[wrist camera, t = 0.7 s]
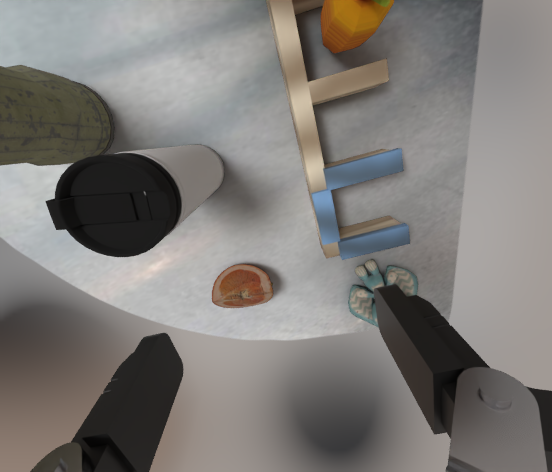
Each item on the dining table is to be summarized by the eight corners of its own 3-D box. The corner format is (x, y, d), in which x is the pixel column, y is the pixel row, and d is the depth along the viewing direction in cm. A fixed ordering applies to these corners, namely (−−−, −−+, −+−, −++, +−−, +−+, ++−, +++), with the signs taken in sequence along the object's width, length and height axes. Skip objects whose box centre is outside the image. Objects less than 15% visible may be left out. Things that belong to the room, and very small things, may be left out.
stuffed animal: (409, 252, 32) (455, 328, 33) (390, 239, 39) (429, 303, 40) (333, 294, 34) (380, 365, 36) (328, 275, 41) (367, 334, 42)
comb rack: (264, 0, 27) (263, -28, 23) (362, -33, 26) (381, -69, 22) (320, 247, 37) (327, 263, 33) (392, 229, 37) (410, 243, 32)
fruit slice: (269, 256, 38) (269, 272, 33) (276, 294, 40) (277, 315, 36) (213, 264, 38) (205, 281, 34) (224, 302, 41) (217, 323, 36)
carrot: (315, 10, 28) (358, -119, 14) (360, 21, 28) (447, -95, 14) (305, 64, 29) (333, -2, 15) (347, 73, 30) (413, 17, 16)
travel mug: (168, 145, 32) (24, 158, 14) (221, 142, 32) (150, 151, 14) (178, 195, 35) (65, 265, 16) (227, 192, 34) (173, 259, 16)
